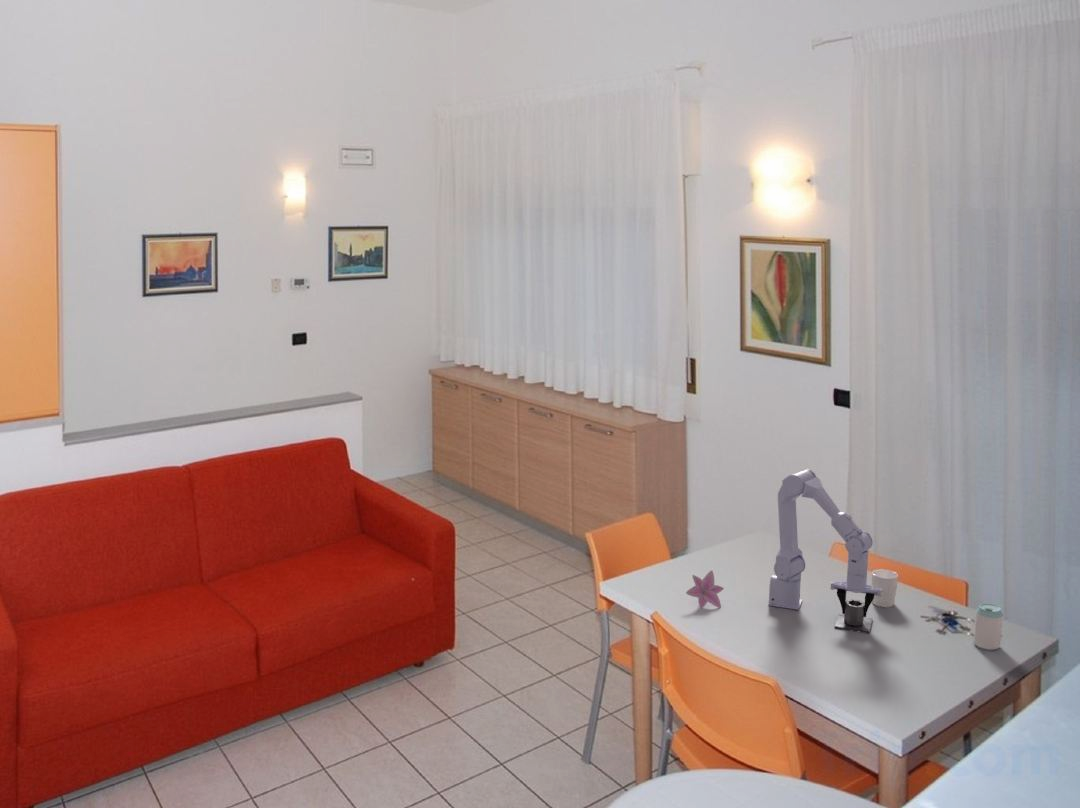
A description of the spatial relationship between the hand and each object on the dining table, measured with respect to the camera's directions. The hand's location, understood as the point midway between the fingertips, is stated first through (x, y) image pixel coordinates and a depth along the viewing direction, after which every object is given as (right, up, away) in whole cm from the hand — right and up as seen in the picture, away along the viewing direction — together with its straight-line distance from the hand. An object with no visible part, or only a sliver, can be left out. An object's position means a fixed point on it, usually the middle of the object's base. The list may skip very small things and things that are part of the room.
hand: (854, 614), depth 306 cm
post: (0, -3, +1) cm, 3 cm away
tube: (0, -2, 0) cm, 2 cm away
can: (+34, -6, -14) cm, 37 cm away
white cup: (+14, 0, +16) cm, 21 cm away
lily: (-43, 0, +16) cm, 46 cm away
